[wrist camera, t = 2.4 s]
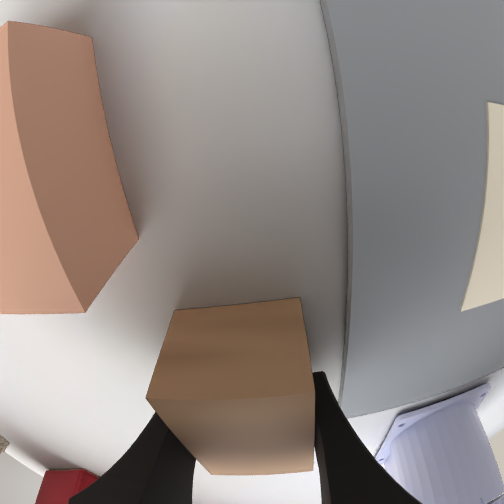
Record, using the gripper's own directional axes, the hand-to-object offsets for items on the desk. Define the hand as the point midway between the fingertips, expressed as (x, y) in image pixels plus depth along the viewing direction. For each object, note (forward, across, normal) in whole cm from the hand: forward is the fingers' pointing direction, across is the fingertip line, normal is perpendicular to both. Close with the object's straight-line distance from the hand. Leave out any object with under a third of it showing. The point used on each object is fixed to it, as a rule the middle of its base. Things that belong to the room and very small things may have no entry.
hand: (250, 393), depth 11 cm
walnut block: (+1, 0, 0) cm, 1 cm away
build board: (+1, -12, -6) cm, 13 cm away
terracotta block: (+2, +5, -10) cm, 11 cm away
